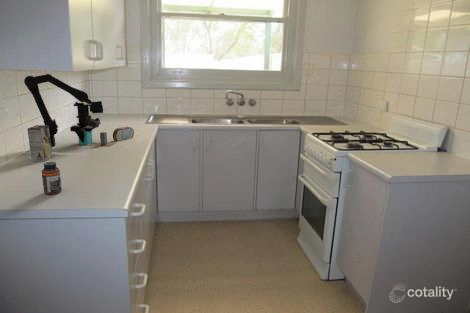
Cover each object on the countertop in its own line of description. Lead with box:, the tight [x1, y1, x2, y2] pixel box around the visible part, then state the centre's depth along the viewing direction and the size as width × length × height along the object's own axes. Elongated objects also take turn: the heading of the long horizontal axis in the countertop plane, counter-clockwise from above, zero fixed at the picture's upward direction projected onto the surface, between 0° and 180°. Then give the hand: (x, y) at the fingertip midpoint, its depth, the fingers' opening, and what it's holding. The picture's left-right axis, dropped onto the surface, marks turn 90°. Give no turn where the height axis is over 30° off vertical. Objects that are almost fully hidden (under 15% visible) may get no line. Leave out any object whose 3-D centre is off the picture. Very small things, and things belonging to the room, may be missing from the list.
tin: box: [112, 126, 135, 142], centre depth 219 cm, size 15×3×8 cm, turn 150°
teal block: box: [77, 131, 94, 146], centre depth 205 cm, size 5×5×7 cm
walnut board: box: [75, 141, 116, 148], centre depth 205 cm, size 9×20×1 cm, turn 82°
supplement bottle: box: [41, 161, 63, 196], centre depth 133 cm, size 6×6×11 cm
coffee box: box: [27, 124, 53, 162], centre depth 175 cm, size 9×6×16 cm
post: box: [99, 131, 108, 145], centre depth 203 cm, size 3×3×7 cm
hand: (85, 141), depth 205 cm, fingers closed on teal block, 5 cm apart
